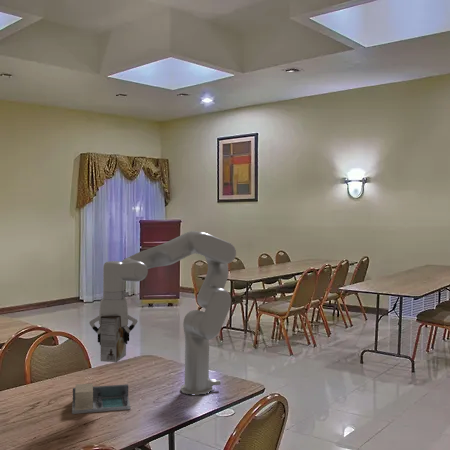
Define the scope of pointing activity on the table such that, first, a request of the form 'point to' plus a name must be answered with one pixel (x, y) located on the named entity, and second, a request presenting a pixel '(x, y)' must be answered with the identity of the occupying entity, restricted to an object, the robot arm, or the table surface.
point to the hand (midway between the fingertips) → (113, 343)
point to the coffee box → (112, 339)
